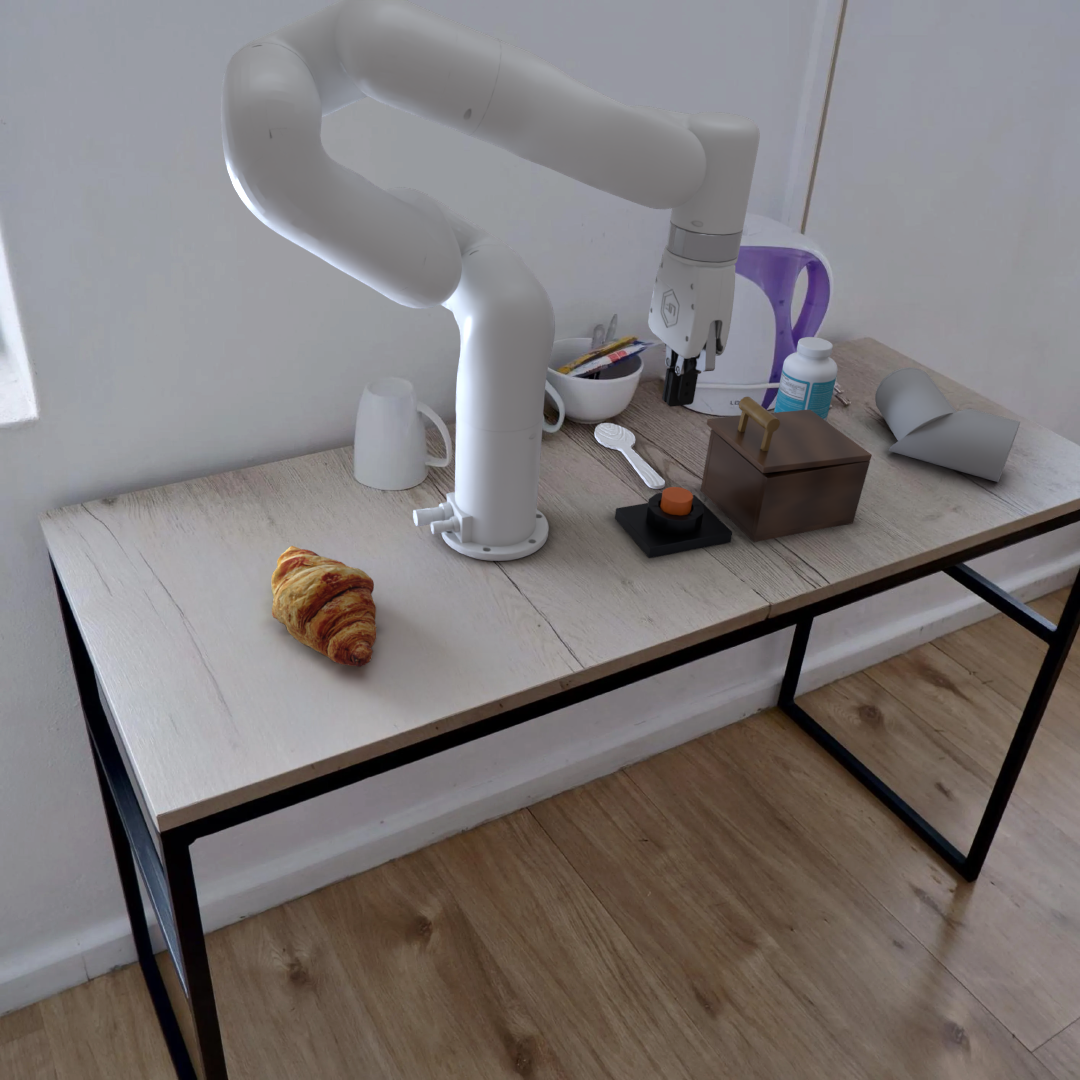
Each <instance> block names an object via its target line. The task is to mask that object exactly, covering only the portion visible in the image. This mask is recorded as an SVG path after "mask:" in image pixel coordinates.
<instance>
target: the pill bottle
mask: <svg viewBox="0 0 1080 1080" xmlns="http://www.w3.org/2000/svg"><path fill="white" fill-rule="evenodd" d="M833 347H834V345H833V343H832V342H830V341H829V340H827V339H825V338H821V337H816V336H815V337H814V336H806V337H805V336H804V337H802V338H800V339H799V340H798V342H797V346H796V351H795V352H792V353H790V354H789V355H788V356H787V357H786V358H785V359H784V361H783V365H782V370H781V374H780V378H779V379H780V380H779V384H778V390H777V395H776V400H775V405H774V410H773V413H776V412H787V411H798V410H809V409H810V410H812V411H813V412H814V413H816V414H817V415H818V416H820V417H821V418H822V419H824V420H825V421H827V420H828V415H829V411H830V408H831V403H832V398H833V394H834V391H835V390H834V389H835V384H836V380H837V377H838V376H837V375H838V368H839V367H838V365H837V362H836V361H835V360H834V359H833V358H832V357H831V355H832V354H833Z"/></svg>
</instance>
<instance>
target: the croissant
mask: <svg viewBox="0 0 1080 1080" xmlns="http://www.w3.org/2000/svg"><path fill="white" fill-rule="evenodd" d="M270 582H271V583H270V587H271V594H272V596H273V597H272V598H273V600H272V607H271V616H272V618H274V619H276V620H277V621H278V622H279V623H281V624H282V625H284V626H285V627H286V630H287V632H288V633H289V634H290V635H291V636H292V637H293V638H294V639H295V640H297V641H298V642H299V643H301V644H302V645H304V646H307V647H309V648H311V649H312V650H314V651H316V652H318V653H320V654H322V655H324V656H325V657H327V658H328V659H330V660H331V661H332V662H334V663H336V664H339V665H343V666H352V667H358V668H360V667H363V666H366V664H368V663H370V662H371V660H372V657H373V653H374V651H373V649H372V647H373V646H374V645H375V643H376V640H377V626H376V625H377V623H376V615H377V606H376V603H375V601H374V598H373V596H372V594H373V592H374V587H375V584H374V583H375V582H374V580H373V578H371V577H370V576H369V574H368V573H366V572H365V571H364V570H363V569H361V568H359V567H352V566H349V565H346V564H345V563H343V562H342V561H339V560H337V559H333V558H330V557H326V556H322V555H319V554H318V553H317V552H314V551H312V550H309V549H304V548H303V549H302V548H299V547H297V546H295V545H291V546H289V547H288V548H287V549H286V550H285V551H283V552H282V553H281V554H280V556H279V557H278V559H277V561H276V568H275V570H274V571H272V575H271V581H270Z"/></svg>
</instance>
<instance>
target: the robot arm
mask: <svg viewBox="0 0 1080 1080" xmlns="http://www.w3.org/2000/svg"><path fill="white" fill-rule="evenodd" d="M367 97H369V98H371V99H373V100H375V101H377V102H378V103H381V104H383V105H386V106H388V107H391V108H393V109H396V110H399V111H401V112H404V113H406V114H409V115H412V116H414V117H418V118H420V119H423V120H425V121H428V122H432V123H434V124H437V125H440V126H443V127H445V128H448V129H450V130H453V131H455V132H459V133H461V134H464V135H466V136H469V137H471V138H473V139H477V140H479V141H482V142H485V143H487V144H490V145H493V146H495V147H498V148H500V149H502V150H504V151H507V152H508V153H511V154H512V155H515V156H517V157H518V158H521V159H523V160H526V161H529V162H531V163H534V164H537V165H539V166H543V167H545V168H548V169H550V170H552V171H554V172H557V173H559V174H562V175H563V176H566V177H568V178H571V179H573V180H575V181H578V182H579V183H582V184H584V185H587V186H590V187H591V188H594V189H595V190H599V191H601V192H605V193H607V194H609V195H613V196H615V197H618V198H620V199H623V200H626V201H629V202H632V203H635V204H637V205H641V206H643V207H646V208H649V209H653V210H670V209H671V214H670V217H669V218H670V219H669V225H668V227H669V228H668V233H667V239H666V245H665V247H664V250H663V252H662V255H661V258H660V261H659V265H658V268H657V272H656V277H655V281H654V286H653V290H652V297H651V301H650V307H649V312H648V320H647V325H648V329H650V331H651V332H652V334H654V335H655V337H657V338H658V339H659V340H660V341H662V343H664V346H665V359H664V360H665V361H664V363H665V366H666V369H665V370H666V371H665V377H664V384H663V389H662V396H661V400H662V401H663V402H664V403H666V404H667V405H668V406H669V407H680V406H689V405H692V404H693V403H694V400H695V396H696V395H695V394H696V389H697V383H698V378H699V375H700V374H702V372H704V373H705V372H713V371H715V369H716V357H717V356H722V355H723V354H724V352H725V350H726V347H727V343H728V340H729V335H730V329H731V323H732V317H733V308H734V299H735V291H736V290H735V288H736V267H737V266H736V264H737V262H738V259H739V253H740V248H741V244H742V243H741V242H742V238H743V237H742V236H743V232H744V227H745V220H746V215H747V209H748V204H749V199H750V193H751V189H752V184H753V179H754V172H755V166H756V162H757V156H758V151H759V145H760V127H759V126H758V124H757V123H756V122H755V121H754V120H753V119H750V118H749V117H747V116H744V115H740V114H735V113H730V112H721V111H702V112H697V113H688V112H687V113H686V112H682V111H676V110H675V111H674V110H670V109H665V108H659V107H655V106H650V105H649V106H648V105H639V104H638V105H628V104H625V103H623V102H621V101H618V100H616V99H614V98H612V97H609V96H607V95H606V94H603V93H601V92H600V91H598V90H596V89H594V88H592V87H590V86H587V85H586V84H584V83H582V82H580V81H579V80H577V79H575V78H574V77H572V76H571V75H569V74H568V73H566V72H565V71H563V70H562V69H560V68H559V67H558V66H556V65H554V64H553V63H552V62H550V61H548V60H546V59H544V58H543V57H540V56H538V55H536V54H535V53H533V52H531V51H528V50H526V49H524V48H521V47H519V46H516V45H513V44H512V43H509V42H506V41H504V40H501V39H499V38H496V37H494V36H491V35H488V33H487V34H486V33H484V32H482V31H479V30H477V29H474V28H472V27H470V26H467V25H465V24H463V23H460V22H459V21H458V22H457V21H455V20H453V19H451V18H449V17H446V16H445V15H441V14H439V13H437V12H434V11H432V10H430V9H427V8H426V7H423V6H421V5H418V4H416V3H414V2H411V1H409V0H338V1H336V2H334V3H332V4H329V5H327V6H325V7H323V8H321V9H319V10H317V11H315V12H311V14H308V15H306V16H304V17H301V18H300V19H297V20H295V21H292V22H290V23H288V24H285V25H284V26H281V27H279V28H277V29H275V30H273V31H271V32H269V33H266V34H264V35H262V36H260V37H258V38H256V39H253V40H251V41H250V42H248V43H246V44H244V45H243V46H242V47H240V48H239V49H238V50H237V51H236V52H235V53H234V54H233V55H232V57H231V58H230V59H229V61H228V63H227V64H226V67H225V69H224V72H223V77H222V82H221V94H220V130H221V132H220V133H221V144H222V151H223V157H224V163H225V167H226V169H227V173H228V176H229V179H230V181H231V184H232V185H233V188H234V190H235V192H236V193H237V195H238V197H239V198H240V200H241V201H242V203H243V204H244V205H245V207H247V209H248V210H249V212H251V213H252V214H253V215H254V216H255V217H256V218H257V219H258V220H259V221H260V222H261V223H262V224H264V225H265V226H266V227H267V228H269V229H270V230H272V231H274V232H275V233H276V234H277V235H280V236H281V237H283V238H285V239H286V240H288V241H290V242H291V243H293V244H295V245H297V246H298V247H300V248H302V249H304V250H306V251H307V252H309V253H311V254H313V255H314V256H316V257H317V258H319V259H321V260H323V261H324V262H326V263H327V264H329V265H331V266H332V267H334V268H335V269H338V270H339V271H341V272H343V273H344V274H346V275H348V276H350V277H352V278H353V279H356V280H357V281H359V282H361V283H363V284H364V285H366V286H368V287H369V288H371V289H372V290H375V291H376V292H378V293H379V294H381V295H383V296H384V297H386V298H387V299H389V300H390V301H392V302H394V303H397V304H399V305H401V306H404V307H407V308H410V309H420V310H424V309H432V308H435V307H438V306H442V307H444V308H445V309H447V310H449V311H450V312H452V314H453V317H454V319H455V322H456V325H457V327H458V329H459V339H460V340H459V342H460V347H459V348H460V349H459V360H458V367H457V374H456V389H455V458H454V459H455V463H454V464H455V465H454V467H455V468H454V491H453V492H448V493H446V502H440V503H439V504H438V506H435V507H425V508H419V509H413V511H412V517H413V522H414V525H415V526H416V527H421V526H422V527H423V526H428V525H429V526H430V527H429V528H430V532H431V534H432V535H435V534H440V535H441V537H442V539H443V541H444V542H445V544H447V545H448V546H449V547H450V548H451V549H452V550H454V551H456V552H458V553H460V554H462V555H463V556H467V557H470V558H473V559H476V560H481V561H488V562H489V561H490V562H492V561H493V562H502V561H504V562H505V561H512V560H519V559H523V558H525V557H528V556H530V555H532V554H534V553H536V552H537V551H539V550H541V548H542V547H543V546H544V545H545V543H546V542H547V540H548V537H549V529H550V527H549V522H548V520H547V517H546V516H545V515H544V514H543V512H541V511H540V509H538V496H539V482H540V470H541V469H540V467H541V456H542V455H541V454H542V453H541V452H542V441H543V440H542V439H543V426H544V425H543V424H544V406H545V394H546V383H547V376H548V371H549V370H548V369H549V365H550V361H551V357H552V351H553V348H554V343H555V334H556V318H555V311H554V308H553V304H552V301H551V298H550V296H549V295H548V293H547V289H545V287H544V285H543V284H542V282H541V281H540V280H539V278H538V277H537V276H536V274H535V273H534V271H533V270H532V269H531V268H530V267H529V265H528V264H527V263H526V261H525V259H524V258H522V256H521V255H520V254H519V253H518V252H517V251H516V250H515V249H514V248H513V247H512V246H511V245H509V244H508V243H506V242H505V241H504V240H503V239H500V238H498V236H495V235H494V234H492V233H491V232H489V231H488V230H486V229H485V228H483V227H481V226H480V225H478V224H476V223H475V222H473V221H471V220H470V219H469V218H467V217H465V216H464V215H462V214H461V213H459V212H458V211H456V210H455V209H452V208H451V207H449V206H448V205H446V204H445V203H443V202H441V201H440V200H438V199H437V198H435V197H434V196H432V195H429V194H428V193H425V192H424V191H421V190H419V189H415V188H411V187H405V186H403V187H402V186H397V187H391V188H387V189H384V188H383V189H382V188H381V187H379V186H377V185H375V184H374V183H373V182H371V181H370V180H368V179H367V178H366V177H364V176H363V175H362V174H360V173H358V172H357V171H354V170H352V169H351V168H349V167H347V166H345V165H343V164H341V163H339V162H338V161H336V160H334V159H333V158H332V157H331V156H330V155H329V154H328V153H327V150H326V149H325V148H324V146H323V143H322V139H321V134H322V133H321V131H322V121H323V118H325V117H328V116H329V115H332V114H333V113H335V112H337V111H340V110H342V109H344V108H347V107H348V106H350V105H353V104H355V103H357V102H359V101H362V100H363V99H365V98H367Z"/></svg>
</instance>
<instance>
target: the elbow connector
mask: <svg viewBox="0 0 1080 1080" xmlns="http://www.w3.org/2000/svg"><path fill="white" fill-rule="evenodd" d="M874 395H875V396H874V397H875V398H874V401H875V405H876V408H877V410H878V411H879V413H880V414H881V416H882V417H883V419H884V421H885V422H886V424H887V426H888V427H889V429H890V430H891V433H893V435H894V437H895V438H896V440H897V441H896V442H895V443H894V444H892V445H891V446H890V447H889V448H888V451H889V452H891V453H895V454H897V455H898V454H899V455H900V456H901V455H902V456H906V457H909V458H913V459H916V460H918V461H923V462H926V463H929V464H933V465H937V466H940V467H944V468H947V469H950V470H954V471H957V472H961V473H964V474H968V475H971V476H975V477H979V478H981V479H984V480H985V479H986V480H989V481H992V482H996V483H999V481H1000V478H1001V477H1002V475H1003V471H1004V469H1005V466H1006V463H1007V462H1008V458H1009V455H1010V452H1011V450H1012V447H1013V445H1014V442H1015V440H1016V436H1017V433H1018V430H1019V428H1020V424H1021V421H1019V420H1016V419H1011V418H1008V417H1004V416H1000V415H996V414H992V413H989V412H985V411H981V410H978V409H974V408H964V409H961V410H958V411H957V410H956V409H955V407H954V406H953V405H952V403H951V402H950V401H949V400H948V399H947V397H946V395H944V393H943V392H942V391H941V389H940V388H939V387H938V385H937V384H936V383H935V382H934V381H933V378H932V377H931V376H930V375H929V373H927V372H926V371H925V370H924V369H921V368H918V367H915V366H914V367H913V366H907V367H901V368H898V369H895V370H893V371H892V372H889V373H888V374H887V375H886V376H885V377H884V378H882V380H881V381H880V382H879V384H878V386H877V388H876V390H875V394H874Z"/></svg>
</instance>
